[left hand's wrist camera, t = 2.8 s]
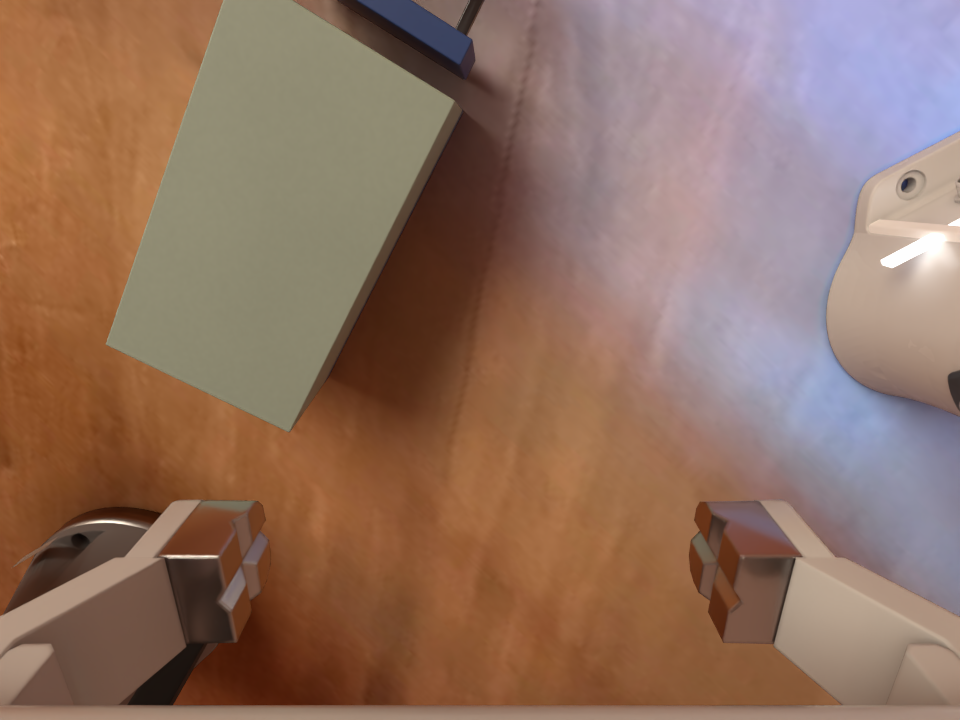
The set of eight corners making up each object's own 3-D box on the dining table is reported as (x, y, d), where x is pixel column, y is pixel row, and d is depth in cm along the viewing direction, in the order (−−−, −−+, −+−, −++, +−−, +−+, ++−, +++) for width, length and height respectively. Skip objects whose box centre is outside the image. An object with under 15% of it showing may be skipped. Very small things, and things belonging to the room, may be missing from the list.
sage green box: (296, 8, 31) (234, -37, 23) (463, 111, 33) (456, 100, 25) (182, 304, 37) (104, 345, 30) (328, 377, 39) (289, 433, 31)
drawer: (362, -147, 28) (329, -224, 22) (524, -37, 29) (532, -82, 23) (203, 262, 35) (147, 285, 29) (339, 333, 37) (311, 367, 31)
